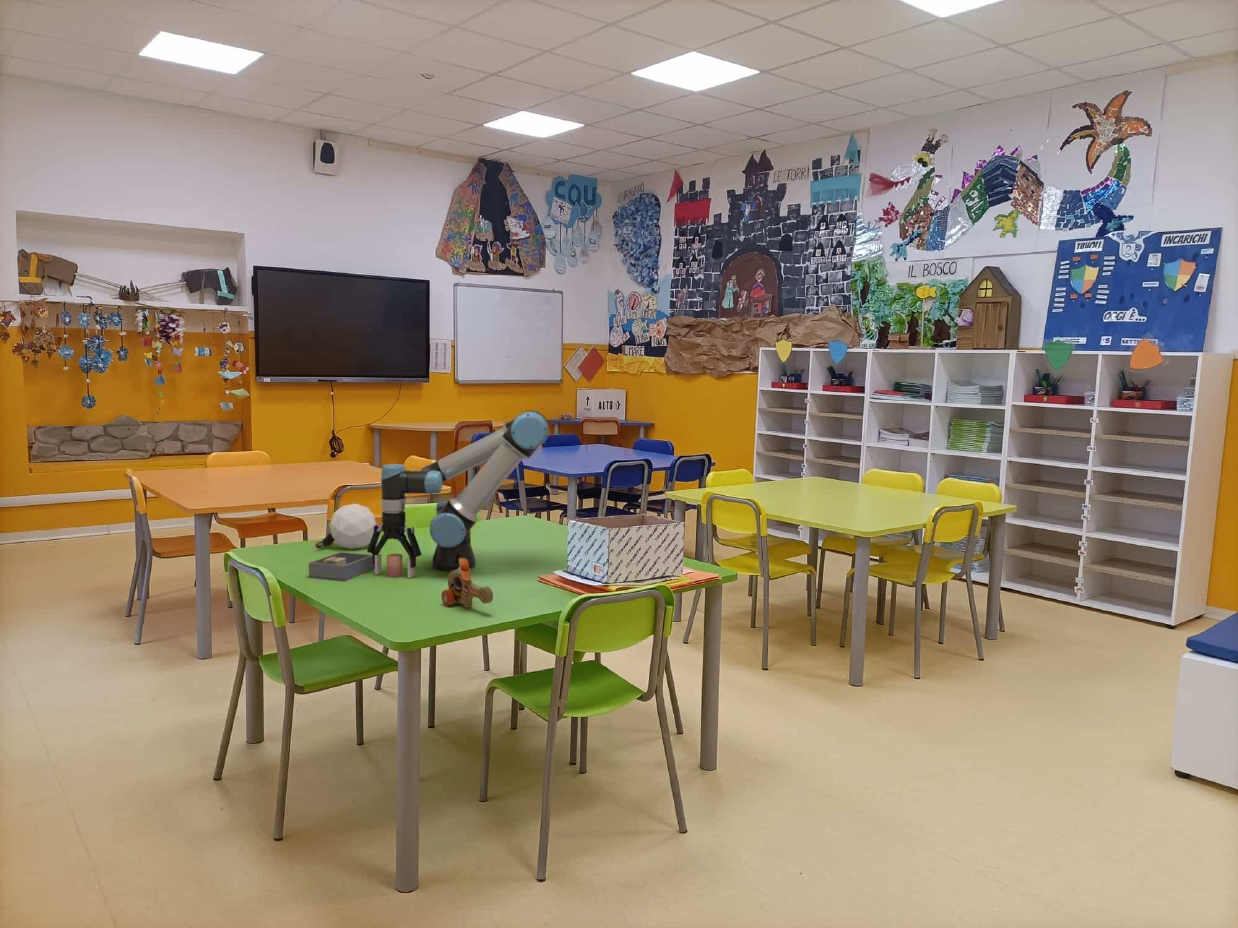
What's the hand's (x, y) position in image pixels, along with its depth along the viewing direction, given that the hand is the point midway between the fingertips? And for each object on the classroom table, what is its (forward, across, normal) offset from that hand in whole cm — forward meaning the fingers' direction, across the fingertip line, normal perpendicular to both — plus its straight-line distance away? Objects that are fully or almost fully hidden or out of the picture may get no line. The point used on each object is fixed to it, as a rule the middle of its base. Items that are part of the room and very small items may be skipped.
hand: (394, 575), depth 290 cm
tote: (0, +18, +3) cm, 18 cm away
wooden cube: (-1, +18, +7) cm, 19 cm away
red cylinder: (0, 0, 0) cm, 0 cm away
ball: (+1, +40, -31) cm, 51 cm away
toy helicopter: (0, -40, +26) cm, 47 cm away
